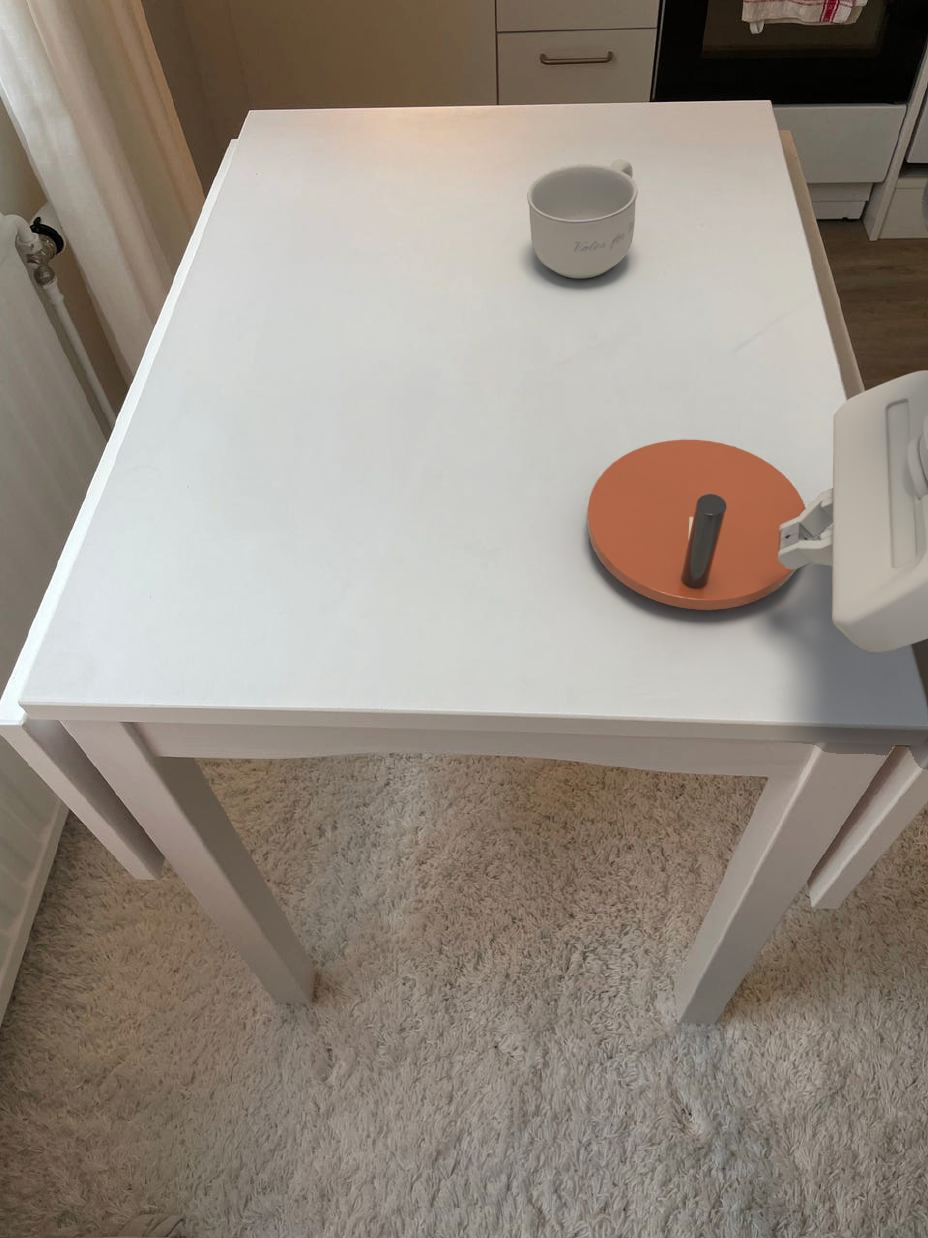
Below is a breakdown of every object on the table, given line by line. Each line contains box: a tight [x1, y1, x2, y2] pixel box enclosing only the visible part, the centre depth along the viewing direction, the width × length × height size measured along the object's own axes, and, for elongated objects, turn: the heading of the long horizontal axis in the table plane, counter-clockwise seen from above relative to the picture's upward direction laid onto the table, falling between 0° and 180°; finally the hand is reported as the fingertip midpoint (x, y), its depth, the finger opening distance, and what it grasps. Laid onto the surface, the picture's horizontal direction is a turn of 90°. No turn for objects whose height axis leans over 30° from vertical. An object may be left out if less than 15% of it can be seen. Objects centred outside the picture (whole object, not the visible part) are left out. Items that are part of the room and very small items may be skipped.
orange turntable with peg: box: [586, 439, 807, 611], centre depth 72 cm, size 17×17×9 cm
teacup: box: [526, 159, 639, 279], centre depth 98 cm, size 14×11×8 cm
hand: (783, 548), depth 66 cm, fingers closed
